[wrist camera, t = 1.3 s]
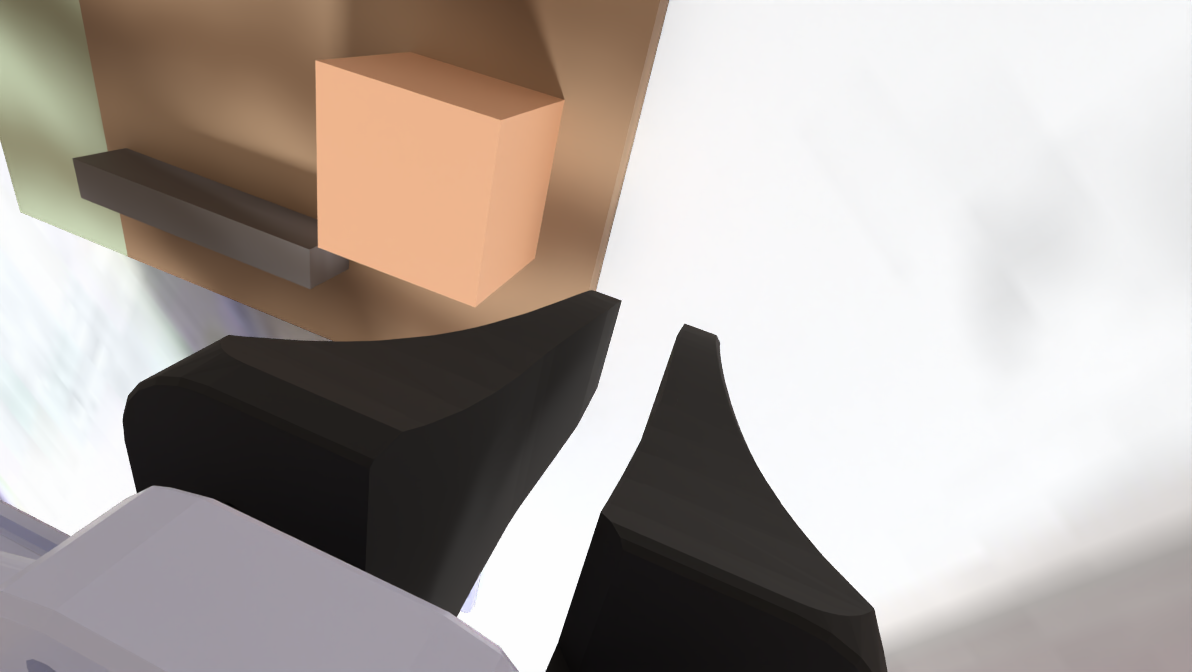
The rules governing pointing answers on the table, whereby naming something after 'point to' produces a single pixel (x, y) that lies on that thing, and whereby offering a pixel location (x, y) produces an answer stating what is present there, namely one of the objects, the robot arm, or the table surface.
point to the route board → (299, 138)
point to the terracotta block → (431, 170)
